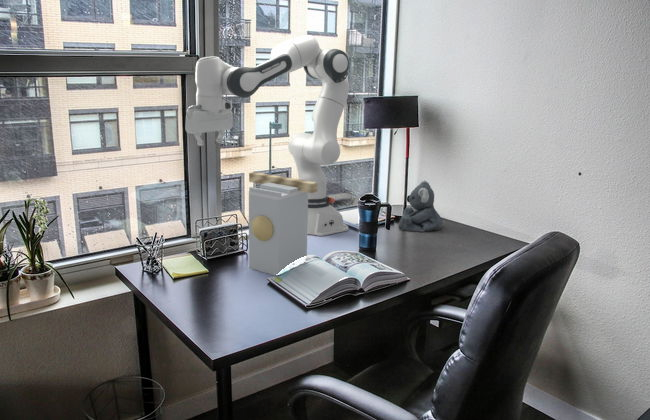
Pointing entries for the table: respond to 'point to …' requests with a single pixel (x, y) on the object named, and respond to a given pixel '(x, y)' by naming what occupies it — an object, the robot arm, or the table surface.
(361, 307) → the table surface
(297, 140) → the robot arm
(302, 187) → the maple shaft
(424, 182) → the koala plush
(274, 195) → the grey box with disc
